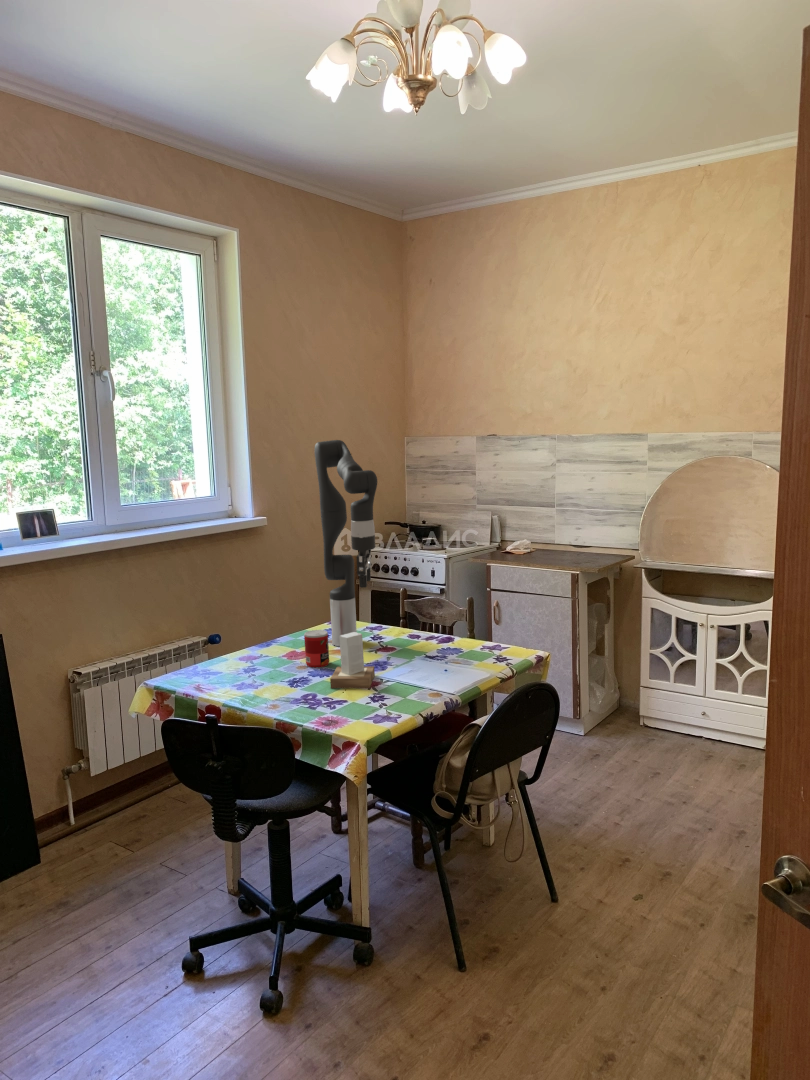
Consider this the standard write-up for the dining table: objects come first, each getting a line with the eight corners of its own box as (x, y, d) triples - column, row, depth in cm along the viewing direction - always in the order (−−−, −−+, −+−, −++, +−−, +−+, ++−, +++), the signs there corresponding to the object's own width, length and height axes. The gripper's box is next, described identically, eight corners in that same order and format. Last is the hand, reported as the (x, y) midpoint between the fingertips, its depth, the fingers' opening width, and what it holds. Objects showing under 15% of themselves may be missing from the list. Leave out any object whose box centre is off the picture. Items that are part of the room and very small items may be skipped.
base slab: (337, 675, 238) (337, 666, 238) (374, 675, 237) (374, 665, 237) (330, 688, 227) (330, 678, 226) (369, 688, 226) (369, 678, 225)
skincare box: (356, 668, 235) (354, 631, 233) (364, 671, 232) (362, 633, 230) (340, 672, 231) (338, 635, 229) (349, 675, 228) (347, 637, 226)
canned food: (325, 668, 247) (323, 636, 245) (302, 667, 248) (300, 635, 247) (332, 661, 254) (330, 630, 252) (310, 660, 256) (308, 629, 254)
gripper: (354, 530, 242) (357, 579, 245) (347, 538, 228) (350, 589, 231) (377, 530, 241) (379, 579, 244) (371, 537, 227) (373, 589, 230)
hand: (365, 584), depth 237 cm, fingers open, 8 cm apart
